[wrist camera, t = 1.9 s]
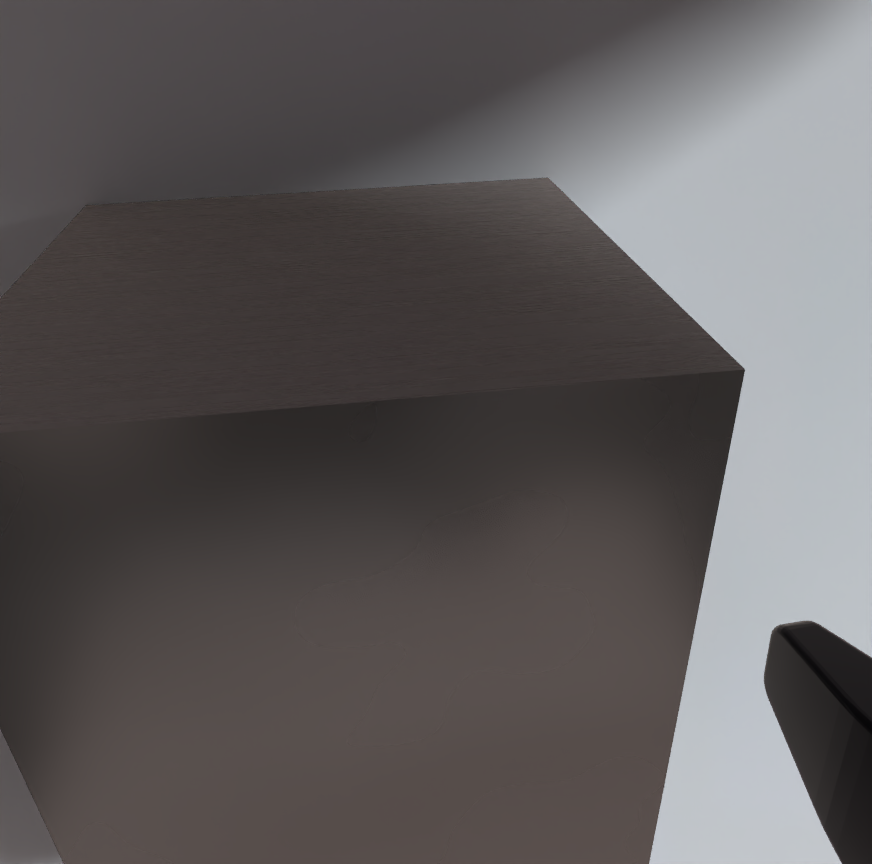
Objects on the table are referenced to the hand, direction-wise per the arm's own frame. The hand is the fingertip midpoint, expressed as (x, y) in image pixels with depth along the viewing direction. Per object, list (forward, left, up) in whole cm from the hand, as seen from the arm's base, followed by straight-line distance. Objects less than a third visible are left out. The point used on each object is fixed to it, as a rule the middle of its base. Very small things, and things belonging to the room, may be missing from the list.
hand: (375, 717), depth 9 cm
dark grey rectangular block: (0, 0, -3) cm, 3 cm away
